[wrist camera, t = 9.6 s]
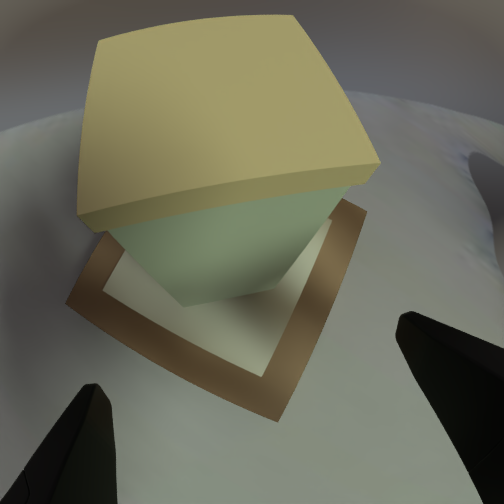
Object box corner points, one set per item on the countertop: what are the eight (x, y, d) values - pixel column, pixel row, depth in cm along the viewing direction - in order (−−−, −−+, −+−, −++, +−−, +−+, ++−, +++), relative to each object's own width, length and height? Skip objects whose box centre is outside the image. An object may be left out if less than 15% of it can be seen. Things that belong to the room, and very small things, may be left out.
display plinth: (272, 414, 17) (278, 423, 15) (79, 308, 18) (62, 302, 15) (356, 223, 21) (369, 209, 19) (182, 143, 22) (179, 124, 20)
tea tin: (277, 290, 17) (380, 162, 5) (181, 310, 16) (76, 215, 4) (255, 203, 18) (292, 15, 7) (166, 220, 18) (98, 40, 6)
